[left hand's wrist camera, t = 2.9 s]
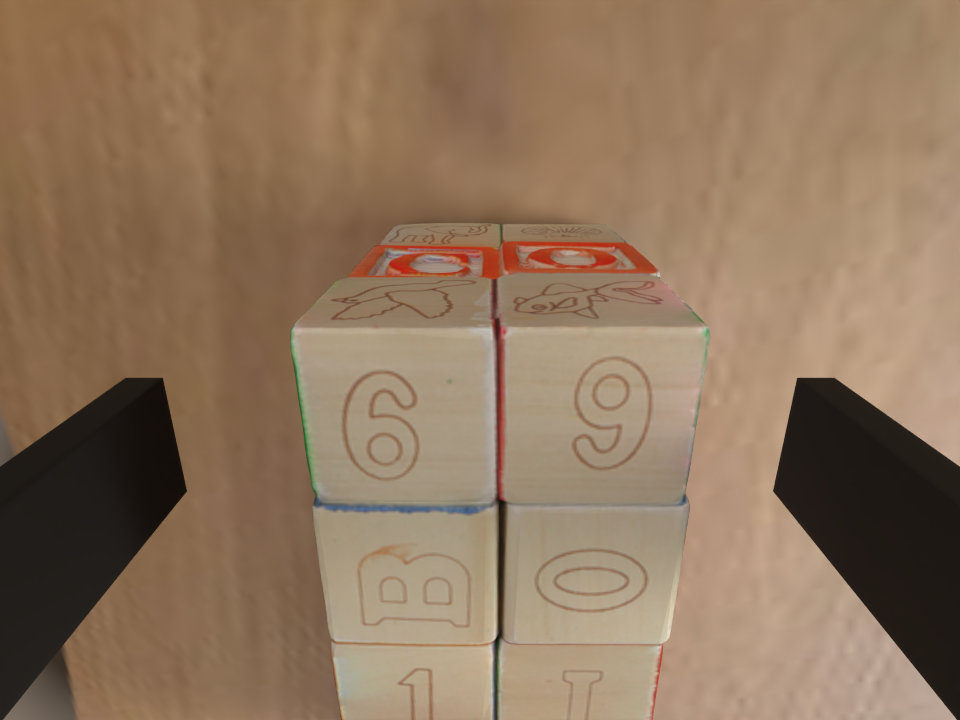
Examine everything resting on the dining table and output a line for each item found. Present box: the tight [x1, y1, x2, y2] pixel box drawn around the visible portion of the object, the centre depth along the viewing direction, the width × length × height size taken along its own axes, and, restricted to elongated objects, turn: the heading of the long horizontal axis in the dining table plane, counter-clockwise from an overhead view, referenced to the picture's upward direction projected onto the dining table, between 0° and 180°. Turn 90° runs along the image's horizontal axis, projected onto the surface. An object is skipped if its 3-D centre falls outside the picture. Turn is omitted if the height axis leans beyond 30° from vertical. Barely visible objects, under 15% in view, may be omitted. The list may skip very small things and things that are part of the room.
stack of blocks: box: [291, 223, 710, 720], centre depth 15 cm, size 21×6×12 cm, turn 0°
